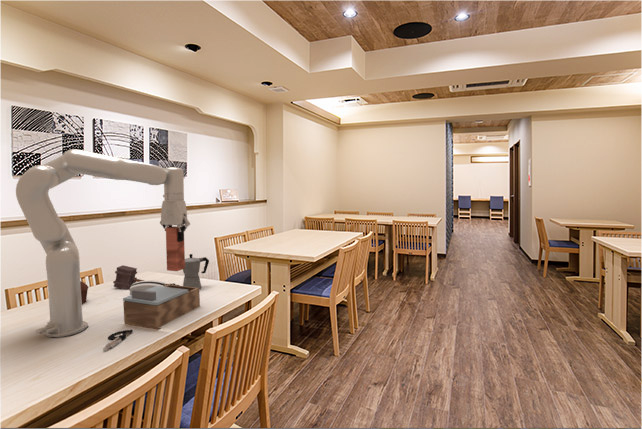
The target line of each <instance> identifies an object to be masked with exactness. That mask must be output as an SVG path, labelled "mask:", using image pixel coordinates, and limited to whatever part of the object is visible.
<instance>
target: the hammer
mask: <svg viewBox="0 0 642 429" xmlns="http://www.w3.org/2000/svg"><path fill="white" fill-rule="evenodd" d="M137 269H138V268H136V267H132V266H128V265H120V266H118V267H116V270H115V271H114V273H115V275H116V276H115V280H113V281H112V283H113V287H114V288H118V289H122V290H130V287H131V285H132V284H133V283H136V282H140V281H146V280H145V279H141V278H137V277H136V275H137V274H138V271H137ZM169 284H170V285H178V286H180V284H176V283H166V285H169Z"/></svg>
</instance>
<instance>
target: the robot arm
mask: <svg viewBox="0 0 642 429" xmlns="http://www.w3.org/2000/svg"><path fill="white" fill-rule="evenodd" d="M78 175H86V176H92V177H98V178H103V179H110V180H113V181H115V180H116V181H131V182H137V183H143V184H147V185H151V186H160V185H163V191H164V192H163V194H162V197H163V199H164V200H163V201H162V203H161V208H160V209H161V210H160V221H159V224H160V225H161V226H162V227H163V229H164V231H165V232H166V228H167V227H173V226H177V227H178V231H179V232H177V236H178V242H181V241H184V242H185V232H186V230H187V229H188V228H189V227H190V225H191V223H190V222H191V221H190V220H188V209H187V204H186V201H185V193H184V192H185V188H184V186H185V184H184V169H183V168H182V167H181V168H180V167H162V166H160V165H156V164H150V163H146V162H142V161H141V162H140V161H135V160H131V159H125V158H121V157H117V156H113V155H106V154H102V153H96V152H92V151H88V150H82V149H79V148H78V149H76V148H72V149H68V150H66V151H65V152H64V153H63V154H62V155H59V157H57V158H54V159H52V160H50V161H48V162H45V163H44V164H38V165H35V166H32V167H30V168H29V169H27V170H26V171H25V172H24V173H23V174H22V175H21V176H20V178H19V179H18V180H17V183H16V187H15V197H16V200H17V202H18V205H19V207H20V209H21V211H22V213H23V216H24V218H25V220H26V221H27V224H28V225H29V228H30V230H31V233H32V235H33V237H34V238H35V239H36V241H38V242H40V244H41V247H42V249H43V250H44V252H45V254H46V257H45V268H46V269H45V270H46V280H47V291H48V304H49V305H48V306H49V321H48V322H47V323H46V325H45V326H43V327H39V328H37V329H35V334H36V335H37V336H40V335H42V334H45V336H46V337H49V338H63V337H64V338H65V337H70V336H72V335H73V336H74V335H76V334H78V333H81V332H83V331H85V330H87V328H88V327H89V324H88V322H87V321H86V320H85V321H84V320H83V318H84V317H83V306H82V305H83V304H82V300H81V285H80V281H81V272H80V271H81V270H80V269H81V267H80V253H79V249H78V246H77V245H76V243H75V241H74V239H73V237H72V235H71V232H70V230H69V228H68V227H67V225H66V222H65V220H63V218H61V217H59V215H58V213H57V210H55V207H54V204H53V202H52V200H51V198H50V197H49V191H50V190H51V189H54V188H55V187H57V186H59V185H61V184H63V183H65V182H67V181H69V180H71V179H72V178H75V177H77V176H78Z"/></svg>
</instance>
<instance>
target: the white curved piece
mask: <svg viewBox="0 0 642 429" xmlns="http://www.w3.org/2000/svg"><path fill="white" fill-rule="evenodd" d="M166 284H167V283H166V282H164V281H159V280H145V281H140V282H136V283H133V284H132V285H131V287H130V289H129V296H130V295H132V290H134V289H138V290H147V289H150V288H152V287H155V286H162V287H163V286H166Z"/></svg>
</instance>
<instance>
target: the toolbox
mask: <svg viewBox="0 0 642 429" xmlns="http://www.w3.org/2000/svg"><path fill="white" fill-rule="evenodd" d="M168 284H169V285H166V286H163V287H171V288H179V289H188V292H187V293H185V294H182V295H180V296H178V297H175V298H173V299H171V300H169V301H166V302H164V303H162V304H159V305H150V304H143V303H136V302H129V301H123V300H122V302H123V322H124V325H126V326H132V327H138V328H144V329H150V330H154V331H155V330H156V331H158V330H161V329H162V326H164V325H166V324H168V323H169V322H172V321H174V320H175V319H177V318H179V317H180V318H181V316H184V315H186V314H188V313H189V312H192V311H193V310H195V309H197V308H199V307H200V306H201V302H200V290H199V288H196V287H187V286H183V285H179V284H176V285H170V284H171V283H168ZM178 285H179V286H178Z"/></svg>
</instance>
